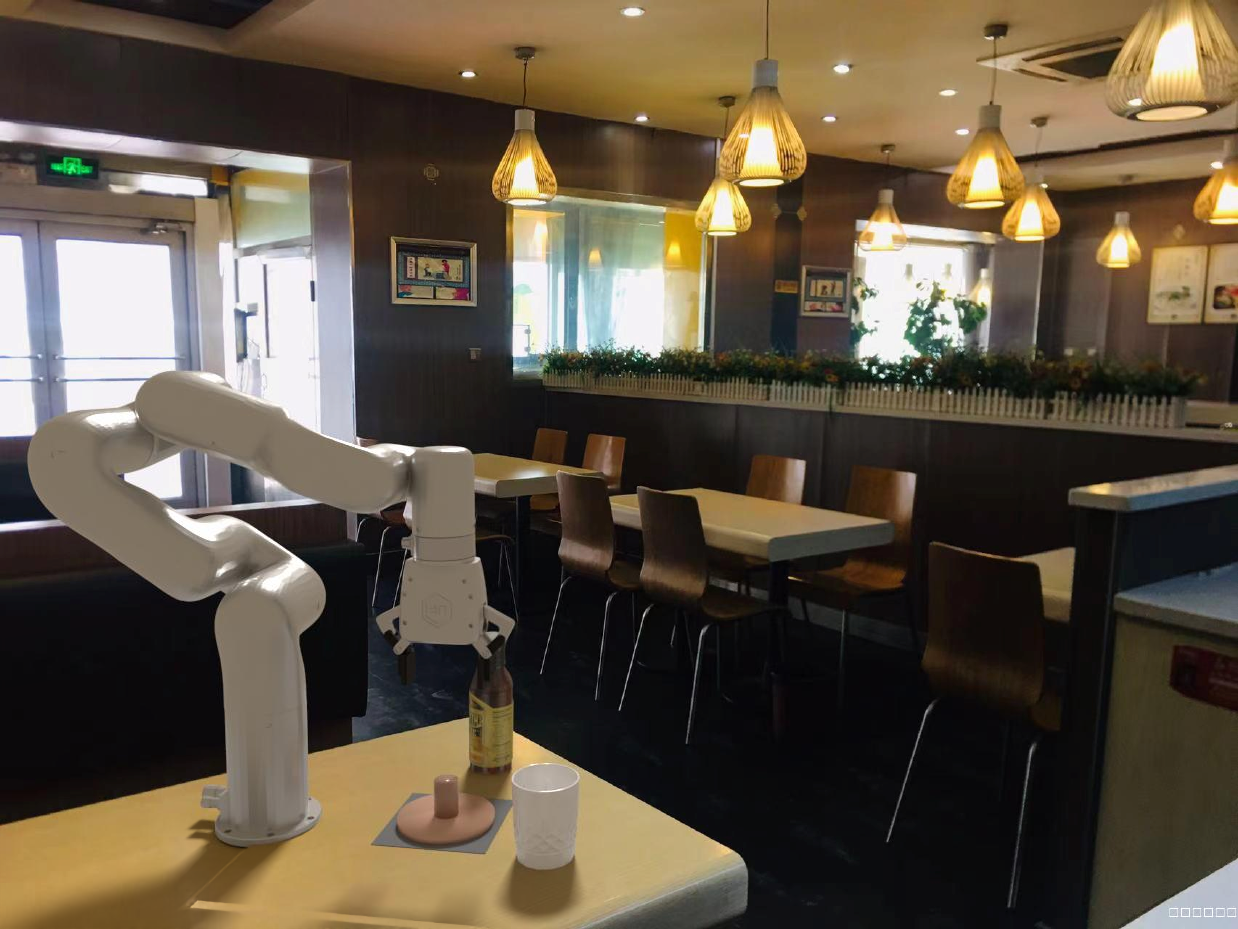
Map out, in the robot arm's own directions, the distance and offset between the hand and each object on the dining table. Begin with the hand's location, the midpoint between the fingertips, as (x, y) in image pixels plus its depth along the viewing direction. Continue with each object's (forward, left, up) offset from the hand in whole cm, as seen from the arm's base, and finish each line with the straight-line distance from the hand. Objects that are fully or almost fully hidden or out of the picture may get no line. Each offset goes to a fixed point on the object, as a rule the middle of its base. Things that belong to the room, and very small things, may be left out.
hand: (445, 684), depth 116 cm
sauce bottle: (+1, +17, -18) cm, 25 cm away
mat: (0, 0, -18) cm, 18 cm away
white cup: (+14, -6, -18) cm, 24 cm away
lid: (0, 0, -18) cm, 18 cm away
